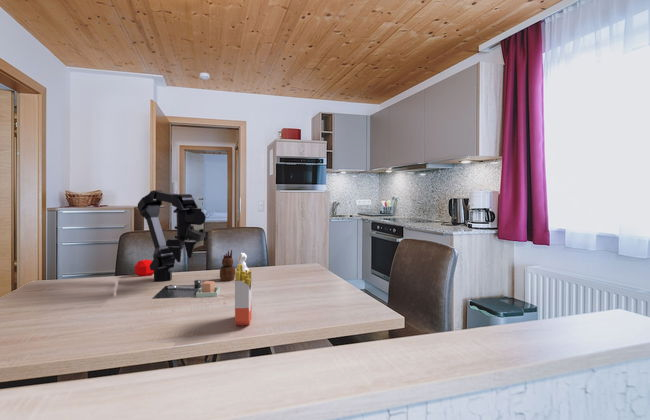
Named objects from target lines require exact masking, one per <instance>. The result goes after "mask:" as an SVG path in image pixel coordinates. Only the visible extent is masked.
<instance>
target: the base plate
mask: <svg viewBox="0 0 650 420" xmlns="http://www.w3.org/2000/svg"><path fill="white" fill-rule="evenodd" d="M176 285H177V286H182V287H194V284H181V285H180V284H176ZM168 286H169V285H165V286H164V287H162V288H161V290H159V291H158V292H157V293H156V294H155V295H154V296H153V297H152V298H151V300H152V299H153V300H157V299H159V300H160V299H177V298H178V299H179V298H197V297H196V293H197V291H198V290H192V289H168ZM201 288H202V284H201Z"/></svg>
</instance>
